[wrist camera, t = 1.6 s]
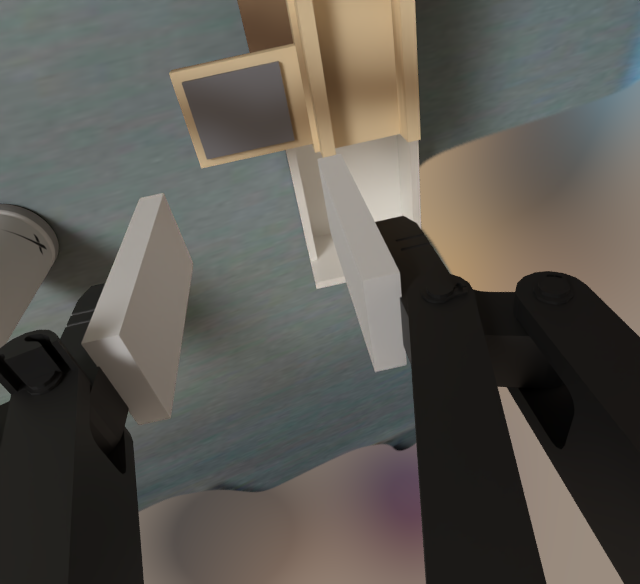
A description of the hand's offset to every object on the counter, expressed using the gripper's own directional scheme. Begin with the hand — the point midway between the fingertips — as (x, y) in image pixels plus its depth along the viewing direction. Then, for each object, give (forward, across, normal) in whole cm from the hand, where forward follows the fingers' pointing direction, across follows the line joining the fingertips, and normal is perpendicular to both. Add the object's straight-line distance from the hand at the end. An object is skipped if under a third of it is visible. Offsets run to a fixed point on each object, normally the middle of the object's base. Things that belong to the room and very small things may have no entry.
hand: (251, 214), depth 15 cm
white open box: (+21, +6, -9) cm, 23 cm away
